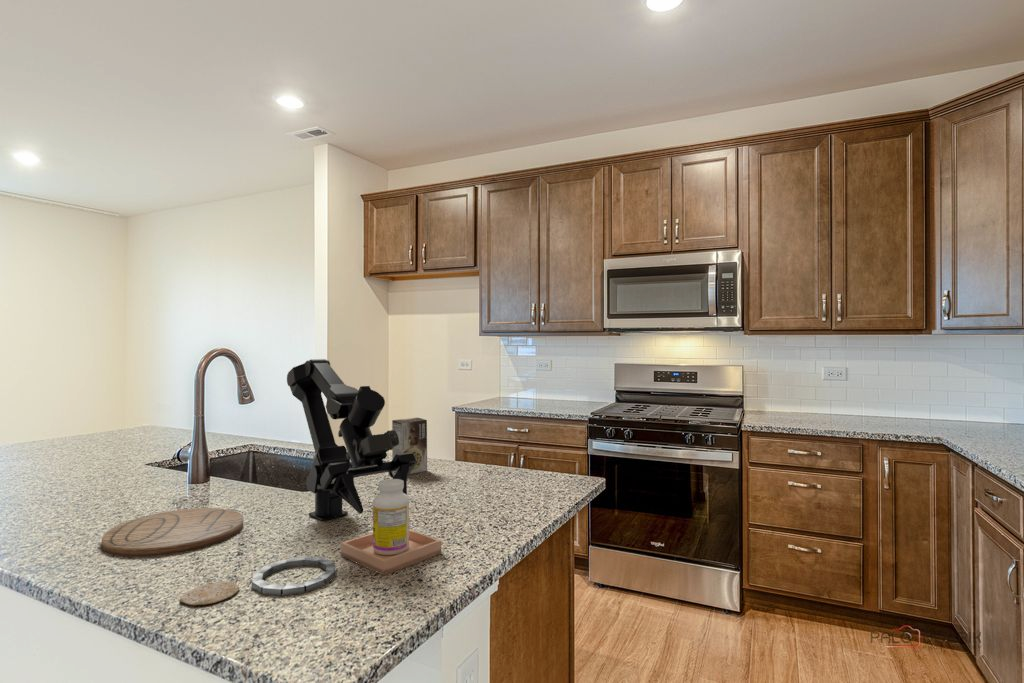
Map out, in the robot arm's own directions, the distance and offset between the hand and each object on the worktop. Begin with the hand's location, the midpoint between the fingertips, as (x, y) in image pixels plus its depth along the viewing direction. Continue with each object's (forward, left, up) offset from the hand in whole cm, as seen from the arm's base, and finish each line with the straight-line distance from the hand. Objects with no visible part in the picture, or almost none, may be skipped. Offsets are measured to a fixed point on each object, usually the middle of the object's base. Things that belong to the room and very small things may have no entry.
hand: (384, 507), depth 106 cm
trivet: (-40, -23, -9) cm, 47 cm away
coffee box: (-47, +45, -8) cm, 65 cm away
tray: (+3, 0, -8) cm, 9 cm away
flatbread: (-5, -30, -8) cm, 31 cm away
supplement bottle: (+3, 0, -7) cm, 8 cm away
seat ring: (-1, -17, -8) cm, 19 cm away
